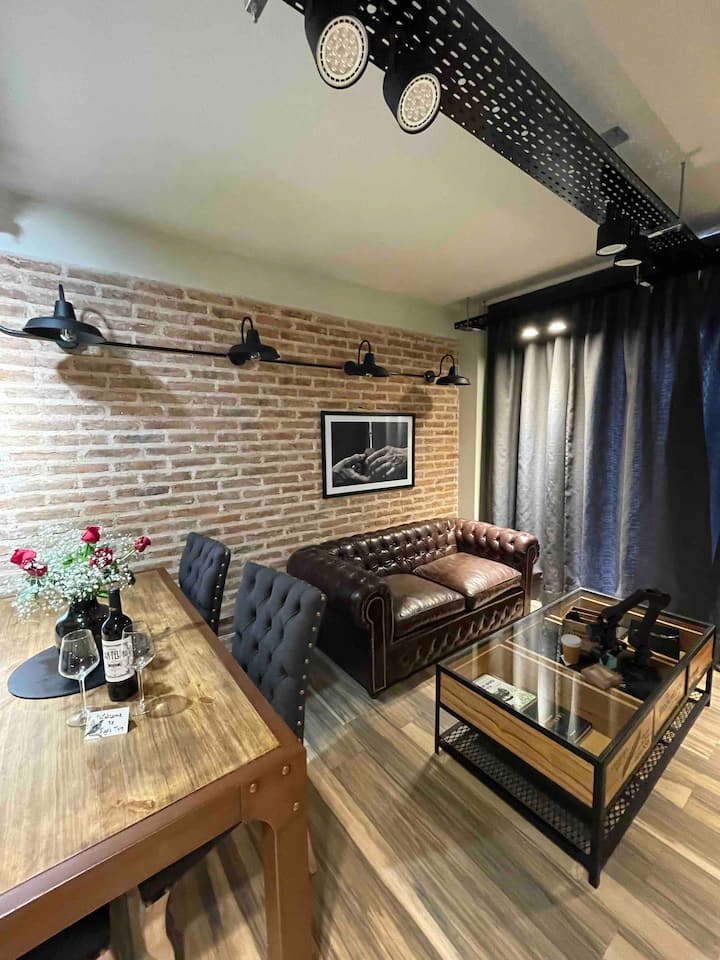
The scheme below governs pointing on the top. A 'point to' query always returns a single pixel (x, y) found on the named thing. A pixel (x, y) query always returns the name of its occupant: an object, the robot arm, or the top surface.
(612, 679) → the walnut base
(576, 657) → the disposable coffee cup
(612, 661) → the teal cube
